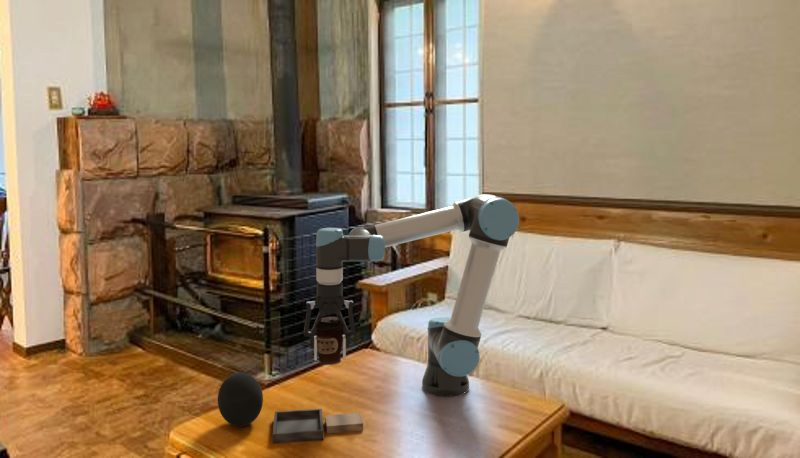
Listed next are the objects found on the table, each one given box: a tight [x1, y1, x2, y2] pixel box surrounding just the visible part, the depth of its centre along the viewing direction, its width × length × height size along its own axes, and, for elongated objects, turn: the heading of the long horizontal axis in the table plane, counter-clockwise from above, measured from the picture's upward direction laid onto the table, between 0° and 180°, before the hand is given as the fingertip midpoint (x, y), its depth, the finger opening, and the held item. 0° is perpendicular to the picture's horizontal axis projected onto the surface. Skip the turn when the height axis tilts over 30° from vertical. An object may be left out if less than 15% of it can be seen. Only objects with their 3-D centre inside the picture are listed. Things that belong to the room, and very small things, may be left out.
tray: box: [272, 408, 325, 444], centre depth 181 cm, size 13×14×2 cm
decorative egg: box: [217, 372, 264, 427], centre depth 183 cm, size 12×12×15 cm
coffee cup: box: [315, 316, 344, 366], centre depth 190 cm, size 9×8×13 cm
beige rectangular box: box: [324, 412, 364, 434], centre depth 183 cm, size 10×7×2 cm
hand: (329, 358), depth 190 cm, fingers closed on coffee cup, 8 cm apart
